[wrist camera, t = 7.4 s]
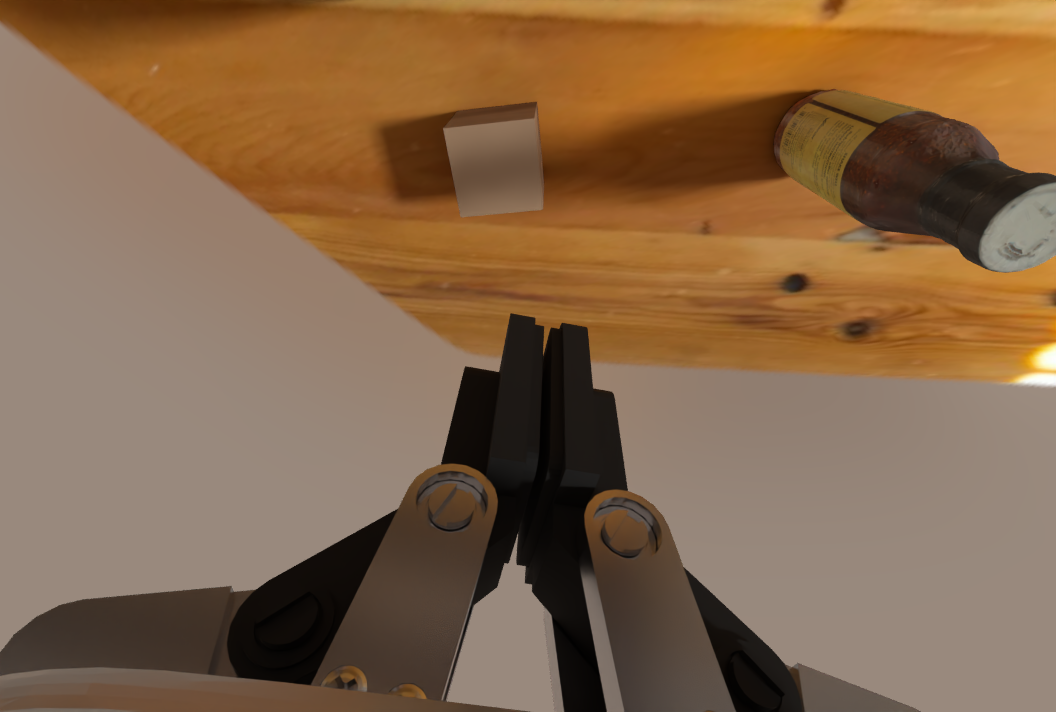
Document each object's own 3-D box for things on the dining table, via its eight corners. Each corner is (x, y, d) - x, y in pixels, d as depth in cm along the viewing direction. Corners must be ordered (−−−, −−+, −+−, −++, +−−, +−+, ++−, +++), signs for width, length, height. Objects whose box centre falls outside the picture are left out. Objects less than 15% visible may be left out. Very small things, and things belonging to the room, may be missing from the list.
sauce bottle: (786, 191, 39) (946, 328, 23) (756, 122, 36) (917, 224, 20) (874, 140, 36) (1121, 254, 20) (850, 61, 33) (1117, 124, 18)
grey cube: (457, 110, 37) (443, 128, 32) (537, 101, 36) (534, 118, 31) (471, 190, 40) (460, 217, 35) (544, 183, 39) (542, 209, 35)
